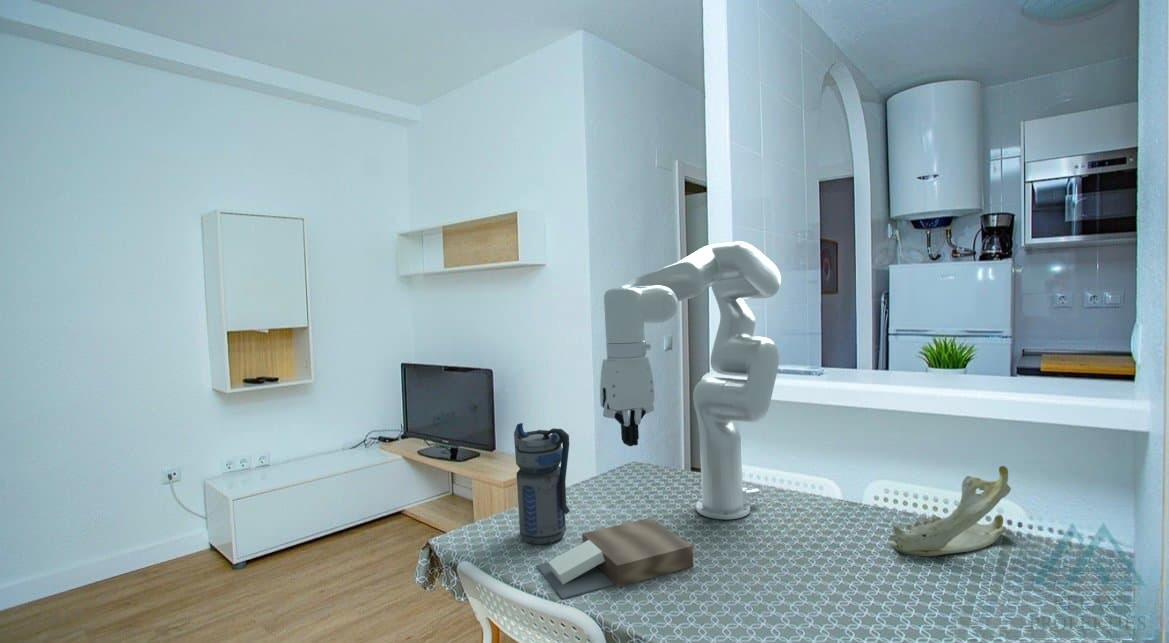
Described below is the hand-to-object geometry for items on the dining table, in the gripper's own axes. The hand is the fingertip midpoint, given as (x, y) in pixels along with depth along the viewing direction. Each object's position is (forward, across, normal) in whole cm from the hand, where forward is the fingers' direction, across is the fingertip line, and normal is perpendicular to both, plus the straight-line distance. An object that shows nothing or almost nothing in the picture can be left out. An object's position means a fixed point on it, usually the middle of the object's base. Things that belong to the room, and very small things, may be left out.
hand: (630, 444), depth 113 cm
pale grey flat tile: (+22, +12, 0) cm, 25 cm away
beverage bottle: (+23, +12, -19) cm, 32 cm away
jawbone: (+24, -56, +25) cm, 66 cm away
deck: (+23, 0, 0) cm, 23 cm away
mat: (+23, +13, 0) cm, 27 cm away
